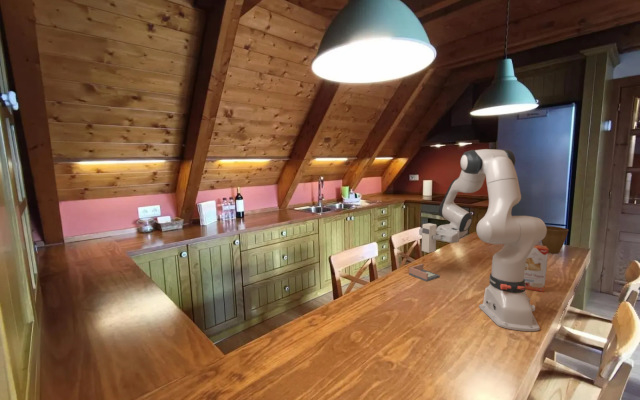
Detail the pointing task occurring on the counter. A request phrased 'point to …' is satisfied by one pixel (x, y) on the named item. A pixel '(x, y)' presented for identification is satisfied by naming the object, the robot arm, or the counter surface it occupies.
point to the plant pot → (554, 238)
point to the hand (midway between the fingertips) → (428, 236)
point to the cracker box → (536, 268)
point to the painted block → (428, 237)
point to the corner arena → (422, 273)
